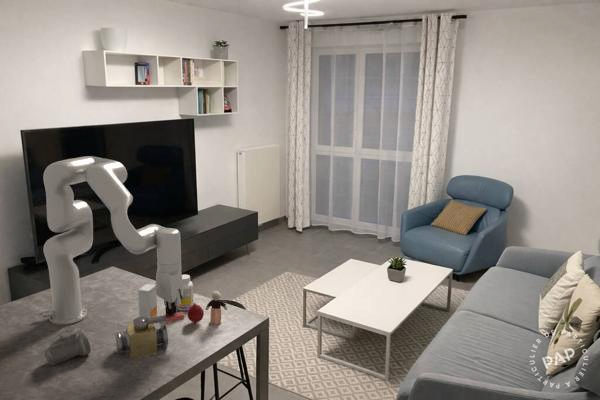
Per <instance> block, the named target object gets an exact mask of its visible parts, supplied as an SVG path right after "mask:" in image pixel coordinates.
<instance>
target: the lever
mask: <svg viewBox="0 0 600 400" xmlns="http://www.w3.org/2000/svg"><path fill="white" fill-rule="evenodd" d="M184 320H185V314H184V312H183V311H179V312H178V311H177V313H172V314H166V313H165V314H164V315H159V316H155V317H153V318H147V317H139V316H137V317H135V318H134V319H133V320H132V323H133V324H134V329H137V330H142V329H145V328H147V327H148V326H149V324H154V325H155V324H160V323H171V322H178V321H184Z"/></svg>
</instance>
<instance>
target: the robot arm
mask: <svg viewBox="0 0 600 400" xmlns="http://www.w3.org/2000/svg"><path fill="white" fill-rule="evenodd" d="M127 178H128V171H127V169H126V167H125V165H124V164H122V163H121V162H119V161H117V160H113V159H109V158H104V157H103V158H102V157H98V156H93V155H91V156H89V155H87V156H79V157H75V158H67V159H63V160H59V161H55V162H53V163H51V164H49V165H47V167H46V168H45V170H44V172H43V179H42V180H43V184H44V188H45V198H46V199H45V200H46V221H47V226H48V228H49V230H50V231H51V232H54V233H59V234H56V235H53V236H52V237H50V238H49V239H47V240H46V241H45V243H44V245H43V248H42V249H43V254H44V257H45V260H46V263H47V266H48V267H47V269H48V274H49V282H50V283H49V284H50V294H51V307H48V308H46V309H44V308H43V309H39V311H38V313H39V316H42V318H45V317H48V320H49V322H50V323H51V324H53V325H58V326H59V325H60V326H61V325H62V326H63V325H71V324H74V323H78V322H80V321H82V320H83V319H85V318H86V317H87V315H88V310H87V309H86V308H84V307H83V306H82V305H83V304H82V293H81V281H80V271H79V268H78V266H77V264H76V263H75V262H74V258H77V256H79V255H82V254H84V253H87V252H88V251H89V250H90V249H91V248H92V246H93V241H94V221H93V211H92V209H91V207H90V205H89V204H88V203H87V202H86V201H83V200H79V199H76V200H74V199H75V194H74V191H73V188H72V187H71V186H70V185H76V184H80V183H83V182H87V184H88V185H89V187H90V188H91V189H92V190H93V191H94V192H95V194H96V195H97V196H98V198H99V199H100V200H101V202H102V203H103V204H104V205H105V207H106V208H107V209H108V210H109V212H110V222H111V227H112V230H113V233H114V235H115V237H116V238H117V240H118V241H119V242H120V243H121V245H122V246H123V247H124V248H125V249H126V250H127V251H128V252H130V254H133V255H141V254H144V253H146V252H148V251H150V250H152V249H155V248H156V259H157V269H156V274H155V275H156V276H155V285H156V294H157V297H158V298H160V299H162V300H163V304H164V306H165V314H172V313H178V311H177V308H176V306H179V305H181V300H182V299H183V280H182V275H183V274H182V249H181V248H182V246H181V245H182V244H181V233H180V230H178V229H177V228H171V227H164V226H161V225H160V224H157V223H156V224H155V223H151V224H148V225H146V226H144V227H141V228H138V229H136V228H135V227H134V225H133V224H132V223H131V221H130V219H129V216H128V209H129V206H130V205H132V203H133V199H134V196H133V195H132V194H131V193H130V191H129V190H128V188H126V186H125V184H124V183H125V182H126V181H127Z"/></svg>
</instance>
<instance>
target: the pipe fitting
mask: <svg viewBox="0 0 600 400" xmlns="http://www.w3.org/2000/svg"><path fill="white" fill-rule="evenodd" d="M58 336H59V338H57V339H55V340H53V341H51V342H50V344H49V346H48V347H45V350H44V356H45V359H46V362H47V363H48V365H50V366H52V367H54V366H56V365H59V364H62V363H63V362H65V361H67V360H70V359H72V358H74V357H76V356H86V355H88V354H90V353H91V344H90V341H89V339H88V337H87V335H86V332H84V331H83V329H77V327H76V326H71V325H70V326H66V327H63V328H62V329H60V331H59V332H58Z"/></svg>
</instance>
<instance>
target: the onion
mask: <svg viewBox="0 0 600 400" xmlns="http://www.w3.org/2000/svg"><path fill="white" fill-rule="evenodd" d="M186 315H187V319H188V320H189V321H190V322H191V323H194V324H197V323H199V322H200V321H202V320H203V318H204V315H205V311H204V309H203V308H202V306H200V305H198V304H197V303H196V302H194V304H193V306H191V307H190V308H189V310H187V311H186Z"/></svg>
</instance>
